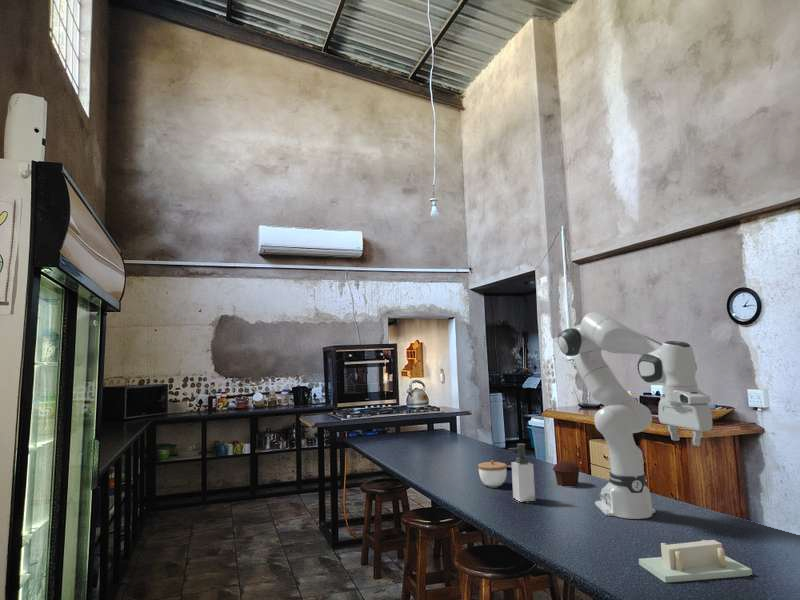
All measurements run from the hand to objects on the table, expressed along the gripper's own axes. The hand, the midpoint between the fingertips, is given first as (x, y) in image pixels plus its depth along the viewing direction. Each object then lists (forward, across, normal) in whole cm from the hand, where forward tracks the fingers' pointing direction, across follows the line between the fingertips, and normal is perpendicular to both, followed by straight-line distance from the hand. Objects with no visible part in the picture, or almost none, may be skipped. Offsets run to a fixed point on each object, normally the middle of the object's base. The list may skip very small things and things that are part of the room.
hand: (685, 442), depth 156 cm
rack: (+31, +11, -8) cm, 34 cm away
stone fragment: (+32, -121, -18) cm, 126 cm away
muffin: (+31, -83, -2) cm, 89 cm away
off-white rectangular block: (+30, +11, -8) cm, 33 cm away
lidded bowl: (+31, -89, -34) cm, 100 cm away
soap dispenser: (+31, -63, -30) cm, 77 cm away
